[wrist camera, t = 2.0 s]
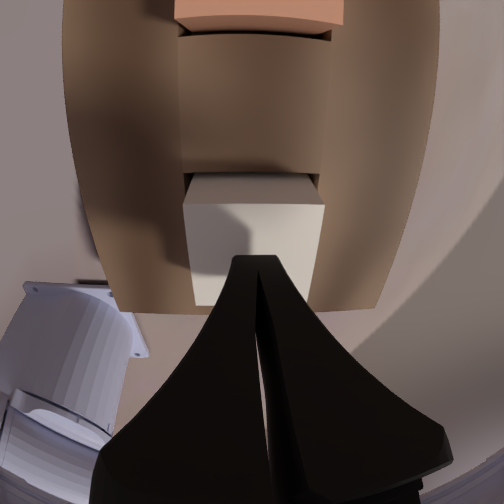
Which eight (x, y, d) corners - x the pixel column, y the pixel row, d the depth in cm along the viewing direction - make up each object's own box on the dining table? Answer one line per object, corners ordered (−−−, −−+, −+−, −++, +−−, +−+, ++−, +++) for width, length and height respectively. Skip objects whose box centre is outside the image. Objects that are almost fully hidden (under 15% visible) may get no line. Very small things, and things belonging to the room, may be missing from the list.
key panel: (134, 271, 17) (119, 311, 14) (108, -61, 5) (78, -82, 2) (356, 269, 18) (374, 308, 15) (396, -53, 6) (431, -69, 3)
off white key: (202, 256, 14) (195, 305, 11) (195, 169, 11) (182, 204, 9) (294, 256, 14) (306, 303, 11) (304, 169, 11) (325, 205, 9)
